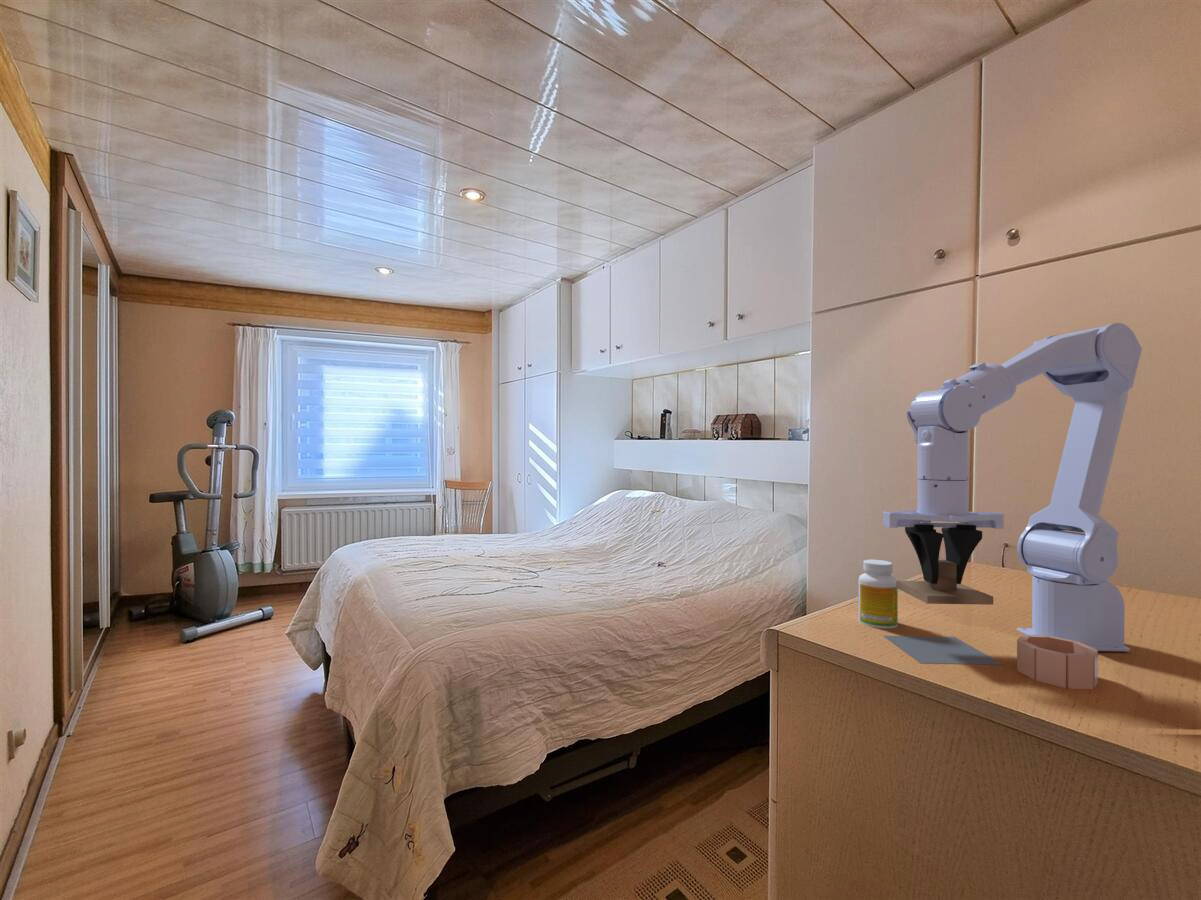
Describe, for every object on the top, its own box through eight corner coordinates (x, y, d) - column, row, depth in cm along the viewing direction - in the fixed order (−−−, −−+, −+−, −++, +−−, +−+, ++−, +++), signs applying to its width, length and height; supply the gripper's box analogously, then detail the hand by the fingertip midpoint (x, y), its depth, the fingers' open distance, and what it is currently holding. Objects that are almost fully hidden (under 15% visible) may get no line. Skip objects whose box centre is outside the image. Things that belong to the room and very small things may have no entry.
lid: (955, 588, 76) (955, 556, 76) (993, 604, 68) (993, 568, 68) (896, 587, 77) (896, 555, 77) (927, 603, 69) (927, 567, 69)
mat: (954, 639, 77) (954, 636, 77) (1003, 667, 68) (1003, 664, 68) (882, 638, 78) (882, 635, 78) (920, 666, 68) (920, 662, 68)
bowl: (1063, 667, 68) (1063, 635, 68) (1113, 692, 61) (1113, 656, 61) (1004, 666, 68) (1005, 634, 68) (1048, 691, 61) (1048, 655, 61)
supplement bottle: (902, 632, 81) (903, 566, 81) (863, 629, 82) (863, 564, 82) (891, 621, 86) (891, 559, 86) (854, 618, 87) (854, 557, 87)
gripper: (901, 481, 69) (901, 588, 69) (1020, 481, 68) (1020, 590, 68) (875, 478, 76) (875, 575, 76) (984, 478, 75) (983, 577, 75)
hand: (942, 582), depth 72 cm, fingers closed on lid, 2 cm apart
